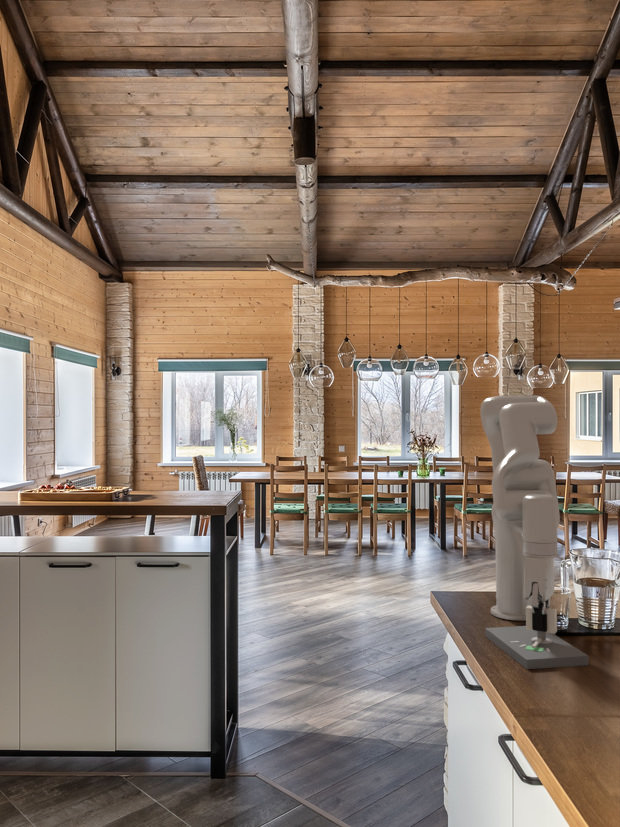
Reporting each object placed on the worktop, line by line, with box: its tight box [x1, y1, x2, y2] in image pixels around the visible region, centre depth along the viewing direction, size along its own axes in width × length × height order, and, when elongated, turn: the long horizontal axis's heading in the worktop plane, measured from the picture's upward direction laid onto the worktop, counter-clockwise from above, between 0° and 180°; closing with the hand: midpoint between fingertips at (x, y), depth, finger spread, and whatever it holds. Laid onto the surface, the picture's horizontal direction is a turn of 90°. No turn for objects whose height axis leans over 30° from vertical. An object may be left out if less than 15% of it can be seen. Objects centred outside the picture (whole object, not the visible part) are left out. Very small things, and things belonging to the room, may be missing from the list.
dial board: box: [484, 625, 590, 670], centre depth 153 cm, size 22×14×2 cm, turn 8°
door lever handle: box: [525, 605, 558, 648], centre depth 150 cm, size 6×9×7 cm
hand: (541, 628), depth 153 cm, fingers closed on door lever handle, 2 cm apart
